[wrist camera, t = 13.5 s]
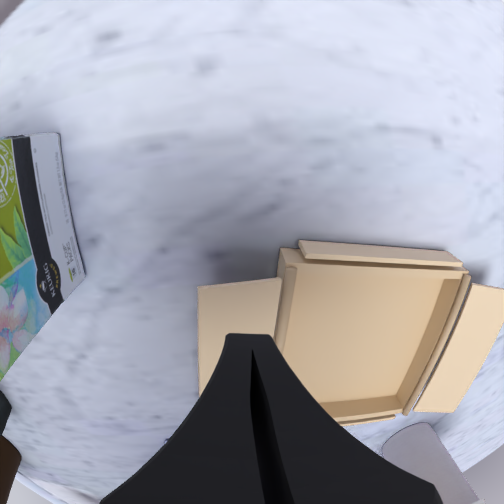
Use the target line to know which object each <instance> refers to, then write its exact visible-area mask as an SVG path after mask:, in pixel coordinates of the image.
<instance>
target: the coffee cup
mask: <svg viewBox="0 0 504 504" xmlns="http://www.w3.org/2000/svg"><path fill="white" fill-rule="evenodd" d="M382 453H383V457H384V459H386V460H387V461H389V462H391V463H392V464H394V465H396V466H397V467H399V468H401V469H403V470H405V471H407V472H409V473H411V474H413V475H415V476H417V477H419V478H421V479H423V480H426V481H428V482H430V483H432V484H434V485H435V487H436V489H437V491H438V493H439V495H440V496H441V499H442V501H443V504H485V499H481V500H479V498H478V497H477V495H476V494H475V492H474V490H473V489H472V487H471V486H470V484H469V483H468V481H467V480H466V478H465V477H464V475H463V474H462V472H461V471H460V469H459V468H458V466H457V464H456V463H455V461H454V460H453V458H452V457H451V455H450V454H449V452H448V451H447V449H446V448H445V446H444V445H443V444H442V442H441V441H440V439H439V438H438V436H437V435H436V433H435V432H434V430H433V429H432V427H431V426H430V425H429V424H428V423H418V424H414V425H411V426H409V427H406V428H404V429H403V430H401V431H399V432H397V433H396V434H394V435H393V436H392V437H391V438H389V439H388V440H387V441H386V443H385V444H384V445H383V447H382Z"/></svg>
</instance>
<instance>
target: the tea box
mask: <svg viewBox="0 0 504 504" xmlns="http://www.w3.org/2000/svg"><path fill="white" fill-rule="evenodd" d="M84 278H85V274H84V270H83V265H82V261H81V258H80V254H79V250H78V246H77V241H76V237H75V232H74V228H73V223H72V217H71V212H70V206H69V201H68V196H67V190H66V183H65V177H64V170H63V161H62V155H61V146H60V135H59V134H57V133H55V132H50V133H36V134H28V135H20V136H10V137H2V138H0V381H1V380H2V378H3V377H4V375H5V374H6V373H7V371H8V370H9V368H10V367H11V366H12V365H13V363H14V362H15V361H16V359H17V358H18V357H19V356H20V354H21V353H22V352H23V350H24V349H25V348H26V347H27V345H28V344H29V343H30V342H31V340H32V339H33V338H34V337H35V336H36V334H37V333H38V332H39V331H40V329H41V328H42V327H43V325H44V324H45V323H46V322H47V321H48V320H49V318H50V317H51V316H52V314H53V313H54V312H55V311H56V309H57V308H58V307H59V306H60V304H61V303H63V302H64V301H65V300H66V299H67V297H68V296H69V295H70V294H71V293H72V292H73V291H74V290H75V288H76V287H77V286H78V285H79V284H80V283H81V282H82V281H83V279H84Z"/></svg>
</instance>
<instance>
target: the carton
mask: <svg viewBox="0 0 504 504" xmlns="http://www.w3.org/2000/svg"><path fill="white" fill-rule="evenodd" d="M298 245H299V247H300V249H295V248H280V253H279V260H278V268H277V276H276V278H277V277H280V278H281V279H282V282H281V289H280V296H279V303H278V310H277V317H276V323H275V330H274V336H273V340H274V342H275V344H276V345H277V347H278V349H279V350H280V352H281V354H282V355H283V357H284V358H285V360H286V362H287V363H288V365H289V366H290V368H291V369H292V370H293V372H294V373H295V374H296V376H297V377H298V379H299V380H300V381H301V383H302V384H303V385H304V387H305V388H306V389H307V390H308V392H309V393H310V394H311V395H312V396H313V397H314V399H315V400H316V401H317V402H318V403H319V404H320V405H321V406H322V408H323V409H324V410H325V411H326V412H327V413H328V414H329V415H330V416H331V417H332V418H333V419H334V420H335V421H336V422H337V423H338V424H340V425H341V426H349V425H357V424H365V423H372V422H378V421H384V420H390V419H395V415H394V414H397V413H402V414H403V415H405V416H407V415H408V413H409V412H410V410H411V408H412V407H413V405H414V403H415V401H416V400H417V398H418V396H419V394H420V393H421V391H422V389H423V387H424V385H425V383H426V382H427V380H428V378H429V376H430V374H431V372H432V370H433V368H434V366H435V364H436V362H437V360H438V358H439V356H440V354H441V352H442V349H443V347H444V345H445V343H446V341H447V339H448V336H449V334H450V332H451V329H452V327H453V325H454V322H455V320H456V317H457V315H458V312H459V310H460V307H461V305H462V302H463V300H464V297H465V294H466V291H467V289H468V286H469V283H470V280H471V276H470V275H468V273H469V271H468V270H467V269H465V268H464V267H463V266H462V265H463V262H461V261H460V260H459V259H457V258H456V257H455V256H453V255H452V254H450V253H449V252H448V251H437V250H425V249H412V248H400V247H387V246H374V245H361V244H347V243H333V242H319V241H305V240H299V243H298Z"/></svg>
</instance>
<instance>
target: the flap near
mask: <svg viewBox="0 0 504 504" xmlns="http://www.w3.org/2000/svg"><path fill="white" fill-rule="evenodd" d="M281 282H282V279H281V278H280V277H277V278H268V279H260V280H251V281H243V282H234V283H225V284H215V285H206V286H198V310H197V315H198V382H199V397H200V396H201V394H202V392H203V390H204V389H205V387H206V385H207V383H208V382H209V380H210V378H211V376H212V374H213V371H214V369H215V367H216V365H217V363H218V360H219V358H220V355H221V353H222V350H223V346H224V342H225V336H226V335H227V334H228V333H244V334H269V335H270V336H271V337H272V338H273V336H274V330H275V323H276V317H277V310H278V303H279V296H280V289H281Z"/></svg>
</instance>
